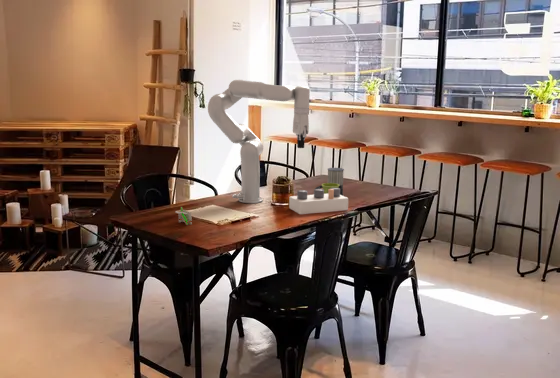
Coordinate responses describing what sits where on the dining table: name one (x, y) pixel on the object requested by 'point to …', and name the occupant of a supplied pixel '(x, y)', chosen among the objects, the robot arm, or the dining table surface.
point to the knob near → (302, 194)
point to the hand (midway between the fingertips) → (300, 147)
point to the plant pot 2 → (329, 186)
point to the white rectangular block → (318, 204)
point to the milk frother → (335, 178)
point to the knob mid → (318, 193)
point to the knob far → (336, 192)
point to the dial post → (330, 193)
